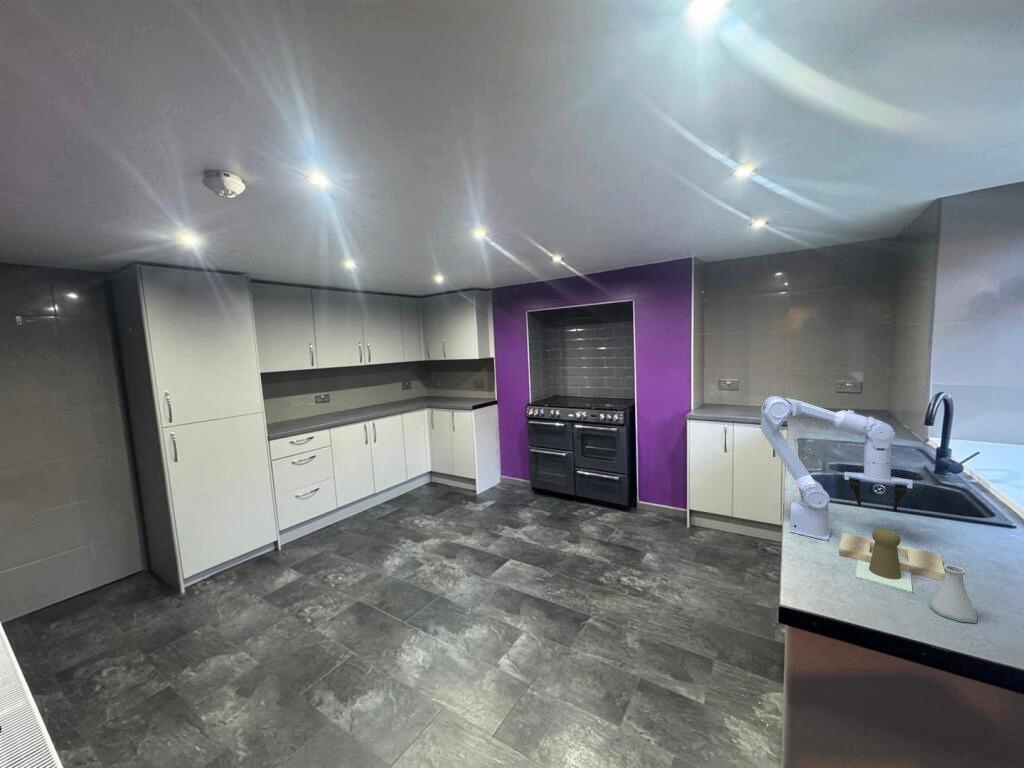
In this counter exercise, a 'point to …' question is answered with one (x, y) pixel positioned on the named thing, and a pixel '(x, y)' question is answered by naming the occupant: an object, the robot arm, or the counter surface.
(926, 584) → the counter surface
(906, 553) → the socket board
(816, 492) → the robot arm
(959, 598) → the flask
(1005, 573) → the counter surface
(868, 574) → the rubber mat
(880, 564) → the cork
